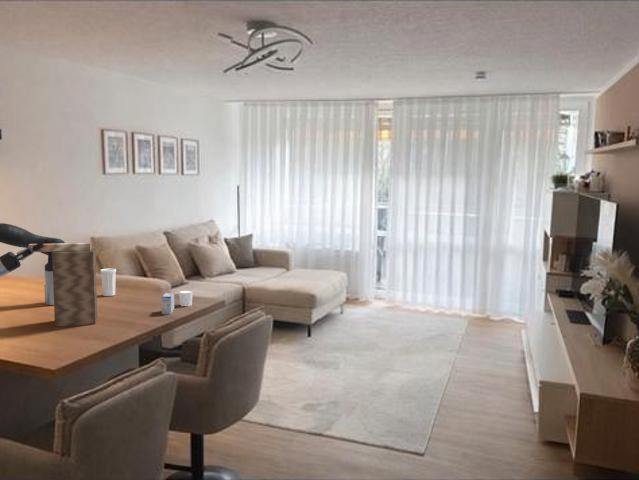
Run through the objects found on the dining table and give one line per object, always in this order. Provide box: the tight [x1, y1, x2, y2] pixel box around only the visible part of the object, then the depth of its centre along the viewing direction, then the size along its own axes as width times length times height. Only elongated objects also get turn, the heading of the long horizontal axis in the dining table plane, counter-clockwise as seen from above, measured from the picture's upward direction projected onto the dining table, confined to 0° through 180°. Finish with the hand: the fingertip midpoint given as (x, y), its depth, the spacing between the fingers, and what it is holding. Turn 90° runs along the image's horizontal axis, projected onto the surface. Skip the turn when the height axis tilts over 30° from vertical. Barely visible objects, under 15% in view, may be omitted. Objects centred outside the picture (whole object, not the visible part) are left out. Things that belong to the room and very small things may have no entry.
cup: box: [99, 267, 117, 297], centre depth 284 cm, size 8×8×14 cm
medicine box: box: [161, 292, 175, 315], centre depth 251 cm, size 8×4×9 cm, turn 5°
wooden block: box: [28, 242, 92, 253], centre depth 227 cm, size 24×4×3 cm, turn 109°
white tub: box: [178, 290, 193, 307], centre depth 266 cm, size 7×7×7 cm
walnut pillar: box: [52, 248, 98, 327], centre depth 230 cm, size 16×11×32 cm
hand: (43, 243), depth 224 cm, fingers closed on wooden block, 3 cm apart
